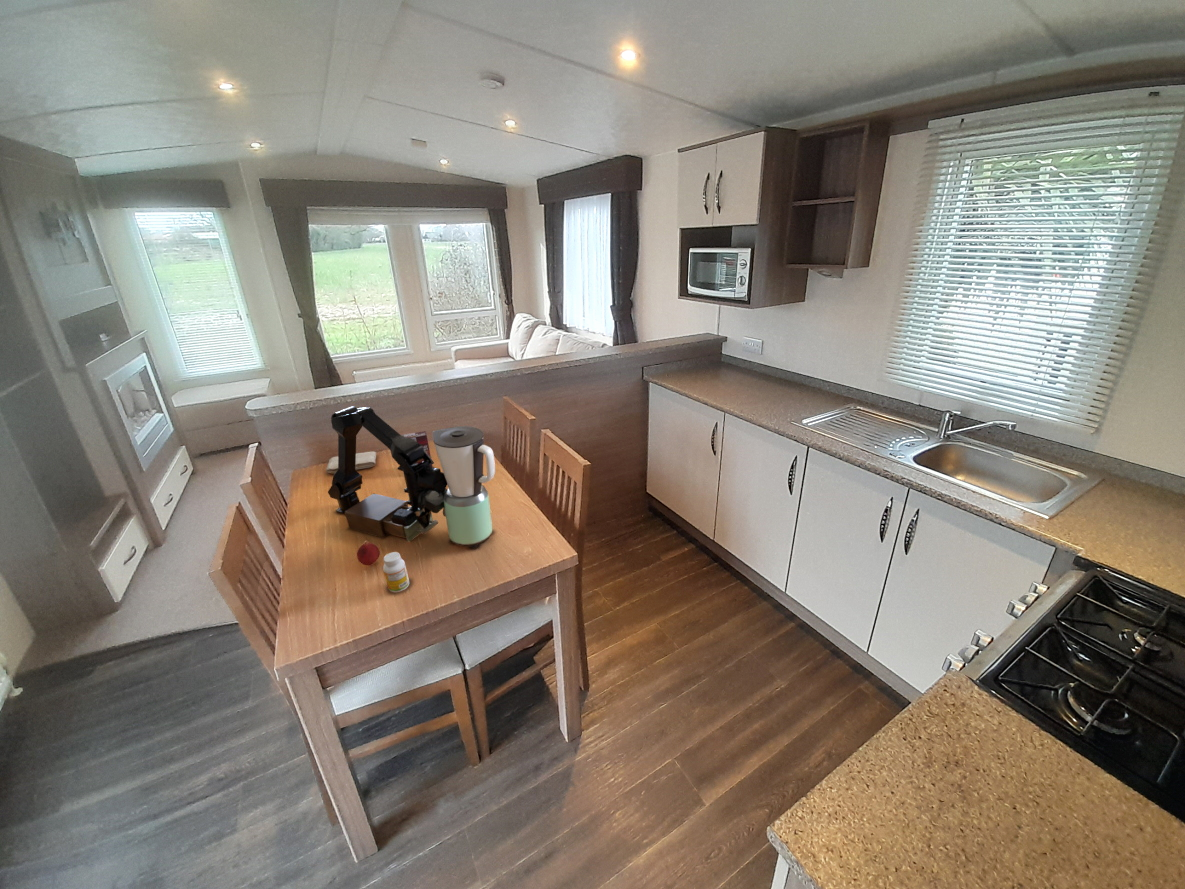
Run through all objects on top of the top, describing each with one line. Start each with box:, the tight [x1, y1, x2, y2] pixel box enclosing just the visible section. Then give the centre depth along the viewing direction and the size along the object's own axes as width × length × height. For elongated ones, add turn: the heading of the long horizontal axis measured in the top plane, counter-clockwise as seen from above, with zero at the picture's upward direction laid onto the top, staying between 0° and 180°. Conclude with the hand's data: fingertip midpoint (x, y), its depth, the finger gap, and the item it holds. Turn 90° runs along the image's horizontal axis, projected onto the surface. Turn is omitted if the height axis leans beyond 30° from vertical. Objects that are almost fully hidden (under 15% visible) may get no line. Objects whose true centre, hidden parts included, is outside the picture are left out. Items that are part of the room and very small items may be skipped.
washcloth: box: [325, 451, 377, 475], centre depth 192 cm, size 12×18×3 cm, turn 110°
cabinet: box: [344, 493, 409, 539], centre depth 153 cm, size 14×12×6 cm
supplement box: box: [402, 430, 434, 468], centre depth 183 cm, size 9×5×16 cm, turn 113°
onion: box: [356, 540, 381, 566], centre depth 134 cm, size 6×6×8 cm
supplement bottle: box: [382, 551, 410, 593], centre depth 125 cm, size 5×5×10 cm
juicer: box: [432, 425, 496, 550], centre depth 138 cm, size 19×13×35 cm
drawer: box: [381, 505, 439, 542], centre depth 148 cm, size 18×11×5 cm, turn 67°
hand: (426, 528), depth 146 cm, fingers closed
